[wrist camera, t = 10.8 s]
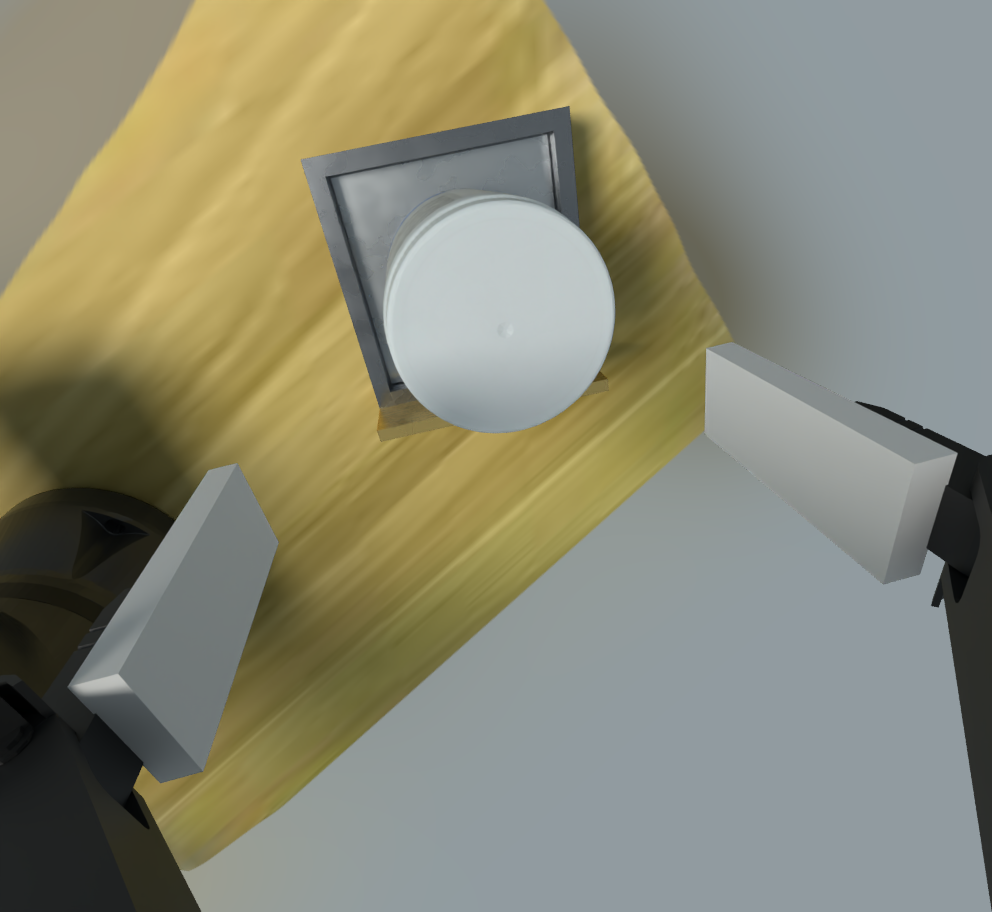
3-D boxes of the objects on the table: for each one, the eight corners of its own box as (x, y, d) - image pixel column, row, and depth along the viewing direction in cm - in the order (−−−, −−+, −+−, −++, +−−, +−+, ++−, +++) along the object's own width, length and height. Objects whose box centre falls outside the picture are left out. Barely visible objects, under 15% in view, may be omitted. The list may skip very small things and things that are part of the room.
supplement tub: (406, 354, 35) (406, 458, 22) (371, 200, 30) (344, 220, 17) (545, 329, 35) (622, 416, 23) (531, 174, 31) (619, 175, 18)
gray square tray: (385, 394, 39) (380, 441, 32) (314, 161, 31) (287, 157, 25) (573, 353, 40) (608, 390, 33) (549, 114, 32) (588, 98, 25)
